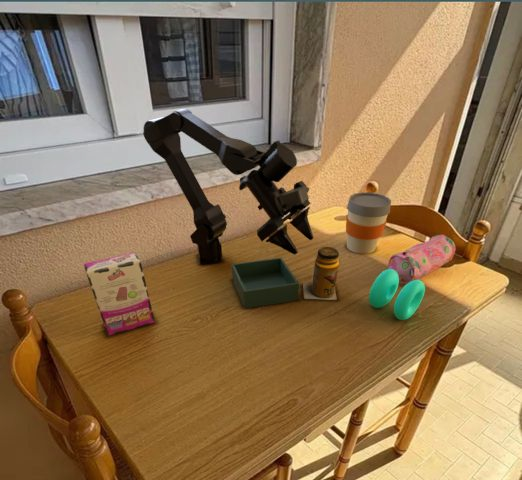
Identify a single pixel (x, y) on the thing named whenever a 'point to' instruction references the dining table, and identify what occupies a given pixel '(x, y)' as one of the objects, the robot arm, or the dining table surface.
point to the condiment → (323, 275)
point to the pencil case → (422, 258)
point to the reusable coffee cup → (366, 221)
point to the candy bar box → (120, 292)
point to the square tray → (264, 282)
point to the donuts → (406, 299)
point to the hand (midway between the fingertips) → (304, 246)
